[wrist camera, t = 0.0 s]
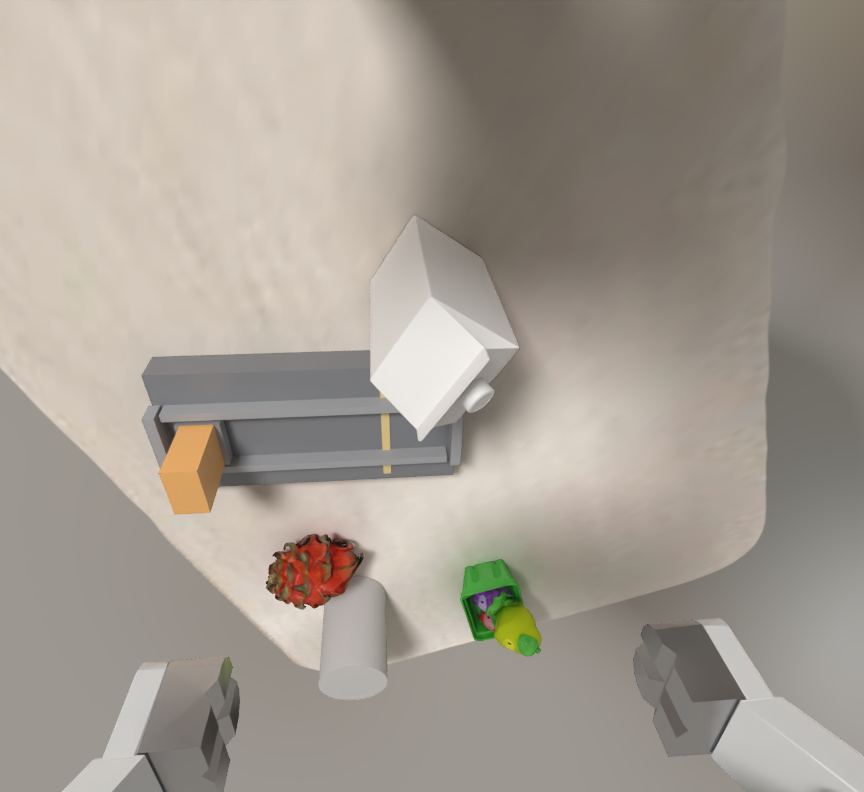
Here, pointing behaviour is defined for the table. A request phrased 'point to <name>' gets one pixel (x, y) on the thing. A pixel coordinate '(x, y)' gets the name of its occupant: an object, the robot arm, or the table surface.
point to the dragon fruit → (312, 571)
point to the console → (294, 418)
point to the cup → (354, 642)
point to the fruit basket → (498, 608)
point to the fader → (195, 465)
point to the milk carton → (435, 329)
